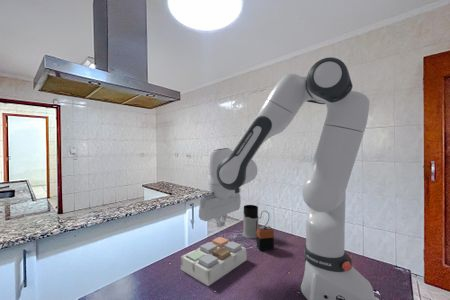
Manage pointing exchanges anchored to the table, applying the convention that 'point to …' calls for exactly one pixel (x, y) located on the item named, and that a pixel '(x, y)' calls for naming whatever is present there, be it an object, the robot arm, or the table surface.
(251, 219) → the glass holder
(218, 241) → the key terracotta
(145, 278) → the table surface
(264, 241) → the battery
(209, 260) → the keypad
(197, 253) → the key sage
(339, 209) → the robot arm
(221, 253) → the key walnut
